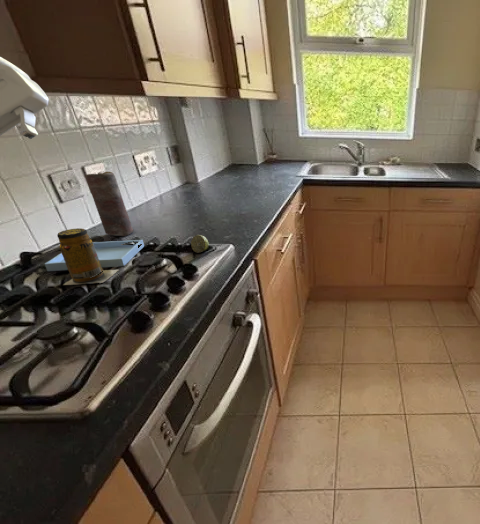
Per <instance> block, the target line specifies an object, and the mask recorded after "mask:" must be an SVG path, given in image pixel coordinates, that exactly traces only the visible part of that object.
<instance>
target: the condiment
mask: <svg viewBox="0 0 480 524" xmlns="http://www.w3.org/2000/svg"><path fill="white" fill-rule="evenodd" d="M56 235H57V239H58V242H59V250H60V253H62V255H63V258H64V261H65V262H66V265H67V268H68V270H67V271H68V272H69V276H70V277H71V279H69V280H68V281H65V283H63V284H62V286H73V285H74V286H75V285H76V286H77V285H85V284H98V283H99V284H101V283H104V282H106V281H108V280H109V279H110V278H111V277H112V276H114V275H115V274H116V273H117V272H118V271H119V269H105V270H104V269H103V268H102V267H101V264H100V261H99V259H98V256H97V253H96V250H95V247H94V244H93V240H92V239H91V238H90V235H89V234H88V231H87V230H86V229H85V228H80V227H79V228H78V227H77V228H69V229H65V230H61V231H59V232H58V233H57V234H56ZM102 271H103V272H102ZM100 272H102V273H101V274H99V275H97V276H95V277H92V276H94V275H96V274H98V273H100ZM90 277H92V278H90Z"/></svg>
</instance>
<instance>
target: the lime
mask: <svg viewBox="0 0 480 524" xmlns="http://www.w3.org/2000/svg"><path fill="white" fill-rule="evenodd" d="M209 244H210V242H209V241H208V239H207V237H206V236H204V235H202V234H195V235H194V236H193V237H192V239H191V241H190V245H191V246H190V247H191V249H192V251H193V252H194V253H198V254H200V253H203V252H205V251H207V250H208V249H209Z"/></svg>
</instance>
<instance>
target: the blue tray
mask: <svg viewBox="0 0 480 524" xmlns="http://www.w3.org/2000/svg"><path fill="white" fill-rule="evenodd" d="M133 241H134V242H138V243H136V244H133V245H121V244H124V243H128V242H133ZM92 242H93V241H92ZM93 244H94V247H95V250H96V253H97V256H98V259H99V261H100V264H101V267H102V269H103V268H115V267H117V268H118V267H125V266H126V265H127V264H128V263H129V262H130V261H131V260H132V259H133V258H134V257H135V256H136V255H138V253H139V252H140V251H141V250H142V249H143V248H144V247H145V243H144V239H135V240H134V239H132V240H130V239H129V240H112V241H95V242H93ZM140 244H142V245H141V246H140V247H139V248H138V245H140ZM44 267H45V269H46V272H56V271H69V270H68V268H67V265H66V262H65V261H64V258H63V255H62V253H61V252H60V253H59V254H57V255H56V256H54V257H52V258H51V259H50V260H48V261H46V262H45V263H44Z"/></svg>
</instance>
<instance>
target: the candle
mask: <svg viewBox="0 0 480 524" xmlns="http://www.w3.org/2000/svg"><path fill="white" fill-rule="evenodd" d="M84 178H85V181H86V183H87V186H88V189H89V191H90V194H91V196H92V199H93V202H94V204H95V208H96V209H97V210H96V211H97V213H98V216H99V219H100V222H101V225H102V227H103V230H104V232H105V234H106V235H109V236H115V237H116V236H119V237H125V236H126V237H127V236H129V235H131V234H132V233H134V229H133V226H132V222H131V220H130V217H129V216H130V215H129V213H128V210H127V208H126V205H125V202H124V199H123V196H122V192H121V190H120V187H119V184H118V181H117V178H116V175H115V173H114V172H113V171H104V172H101V173H100V172H99V173H88V174H85V175H84Z"/></svg>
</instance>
